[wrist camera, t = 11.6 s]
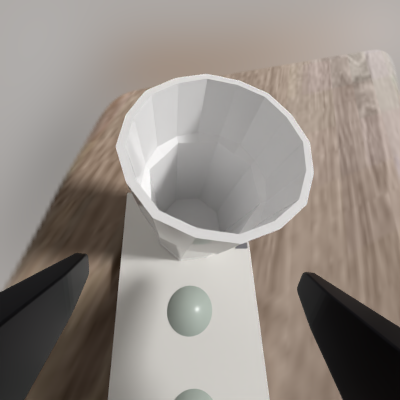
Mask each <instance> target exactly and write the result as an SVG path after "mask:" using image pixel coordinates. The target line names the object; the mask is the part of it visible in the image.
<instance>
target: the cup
mask: <svg viewBox="0 0 400 400" xmlns="http://www.w3.org/2000/svg"><path fill="white" fill-rule="evenodd" d="M116 149H117V153H118V156H119V160H120V163H121V166H122V170H123V173H124V176H125V180H126V183H127V185H128V187H129V189H130V191H131V193H132V195H133V197H134V199H135V201H136V203H137V205H138V207H139V209H140V210H141V212H142V214H143V216H144V217H145V218H146V220H147V221H148V222H149V224H150V225H151V226H152V228H153V229H154V231H155V233H156V236H157V238H158V240H159V242H160V245H162V246H163V247H164V248H165V249H166V250H168V251H169V252H170V253H171V254H172V255H174V256H175V257H176V258H177V259H179V260H180V261H183V260H191V259H199V258H206V257H207V256H209V255H211V254H220V253H222V252H225V251H227V250H230V249H232V248H235V247H238V246H240V245H243V244H245V243H248V242H250V241H252V240H255V239H257V238H260V237H262V236H264V235H267V234H269V233H272V232H274V231H276V230H279V229H281V228H282V227H283V226H284V225H285V224H286V223H287V222H288V221H289V220H290V219H292V218H293V217H294V216H295V215H296V214H297V213H298V212H299V211H300V210H301V209H302V208H303V207H304V206H306V205H307V200H308V196H309V192H310V187H311V183H312V179H313V174H314V170H313V163H312V155H311V148H310V142H309V140H308V139H307V137H306V136H305V134H304V133H303V131H302V129H301V128H300V126H299V125H298V123H297V122H296V120H295V119H294V117H293V116H292V115H291V114H290V113H289V112H288V111H287V110H286V109H285V108H284V107H283V106H282V105H281V104H279V103H278V102H277V101H276V100H275V99H274V98H273V97H272V96H271V95H270V94H269V93H266V92H264V91H262V90H260V89H257V88H255V87H253V86H250V85H248V84H246V83H244V82H241V81H239V80H235V79H230V78H225V77H220V76H215V75H210V74H202V75H194V76H187V77H180V78H174V79H172V80H170V81H167V82H165V83H162V84H160V85H158V86H155V87H153V88H151V89H148V90H146V91H145V92H144V93H143V94H142V96H141V97H140V98H139V99H138V100H137V102H136V103H135V104H134V105H133V107H132V108H131V109H130V110H129V112H128V113H127V114H126V116H125V119H124V122H123V125H122V128H121V132H120V135H119V138H118V141H117V144H116Z"/></svg>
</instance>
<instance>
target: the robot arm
mask: <svg viewBox="0 0 400 400" xmlns="http://www.w3.org/2000/svg"><path fill="white" fill-rule="evenodd" d="M88 274H89V263H88V255H87V254H82V253H75V254H73V255H71V256H69V257H67V258H65V259H63V260H62V261H60V262H58V263H56V264H54V265H52V266H50V267H48V268H46V269H44V270H42V271H40V272H38V273H36V274H34V275H33V276H31V277H29V278H27V279H25V280H23V281H21V282H19V283H17V284H15V285H13V286H11V287H9V288H7V289H6V290H4V291H2V292H0V400H24V399H25V398H26V396H27V394H28V392H29V390H30V389H31V387H32V385H33V383H34V381H35V380H36V378H37V376H38V374H39V372H40V371H41V369H42V367H43V365H44V363H45V362H46V360H47V358H48V356H49V354H50V353H51V351H52V349H53V347H54V345H55V344H56V342H57V340H58V338H59V336H60V335H61V333H62V331H63V329H64V328H65V326H66V324H67V322H68V320H69V318H70V316H71V315H72V312H73V310H74V308H75V306H76V303H77V301H78V299H79V296H80V294H81V292H82V289H83V287H84V284H85V282H86V280H87V277H88ZM297 291H298V295H299V298H300V301H301V303H302V306H303V309H304V312H305V315H306V318H307V320H308V323H309V326H310V328H311V331H312V333H313V335H314V338H315V340H316V342H317V344H318V346H319V348H320V351H321V353H322V355H323V357H324V359H325V362H326V364H327V366H328V368H329V370H330V373H331V375H332V377H333V379H334V381H335V384H336V386H337V388H338V390H339V392H340V395H341V397H342V399H343V400H400V327H398V326H397V325H395V324H394V323H392V322H390V321H389V320H387V319H386V318H384V317H383V316H381V315H379V314H378V313H376V312H375V311H373V310H372V309H370V308H368V307H367V306H365V305H364V304H362V303H361V302H359V301H357V300H356V299H354V298H353V297H351V296H349V295H348V294H346V293H345V292H343V291H342V290H340V289H338V288H337V287H335V286H334V285H332V284H331V283H329V282H327V281H326V280H324V279H323V278H321V277H320V276H318V275H316V274H315V273H309V272H305V273H303V274H302V276H301V279H300V282H299V284H298V287H297Z"/></svg>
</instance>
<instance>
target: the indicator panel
mask: <svg viewBox="0 0 400 400" xmlns="http://www.w3.org/2000/svg"><path fill="white" fill-rule="evenodd" d="M108 400H270V399H269V392H268V384H267V377H266V369H265V362H264V354H263V347H262V339H261V331H260V324H259V316H258V309H257V301H256V294H255V286H254V279H253V271H252V263H251V256H250V248H249V242H248V243H245V244H243V245H240V246H238V247H235V248H232V249H230V250H227V251H225V252H222V253H220V254H211V255H209V256H207V257H206V258H199V259H191V260H183V261H180V260H179V259H177V258H176V257H175V256H174V255H172V254H171V253H170V252H169V251H168V250H166V249H165V248H164V247H163V246H162V245H160V242H159V240H158V238H157V236H156V233H155V231H154V229H153V228H152V226H151V225H150V224H149V222H148V221H147V220H146V218H145V217H144V216H143V214H142V212H141V210H140V209H139V207H138V205H137V203H136V201H135V199H134V197H133V195H132V193H127V202H126V212H125V223H124V234H123V244H122V255H121V265H120V276H119V287H118V297H117V308H116V318H115V329H114V340H113V350H112V361H111V372H110V382H109V393H108Z"/></svg>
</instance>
